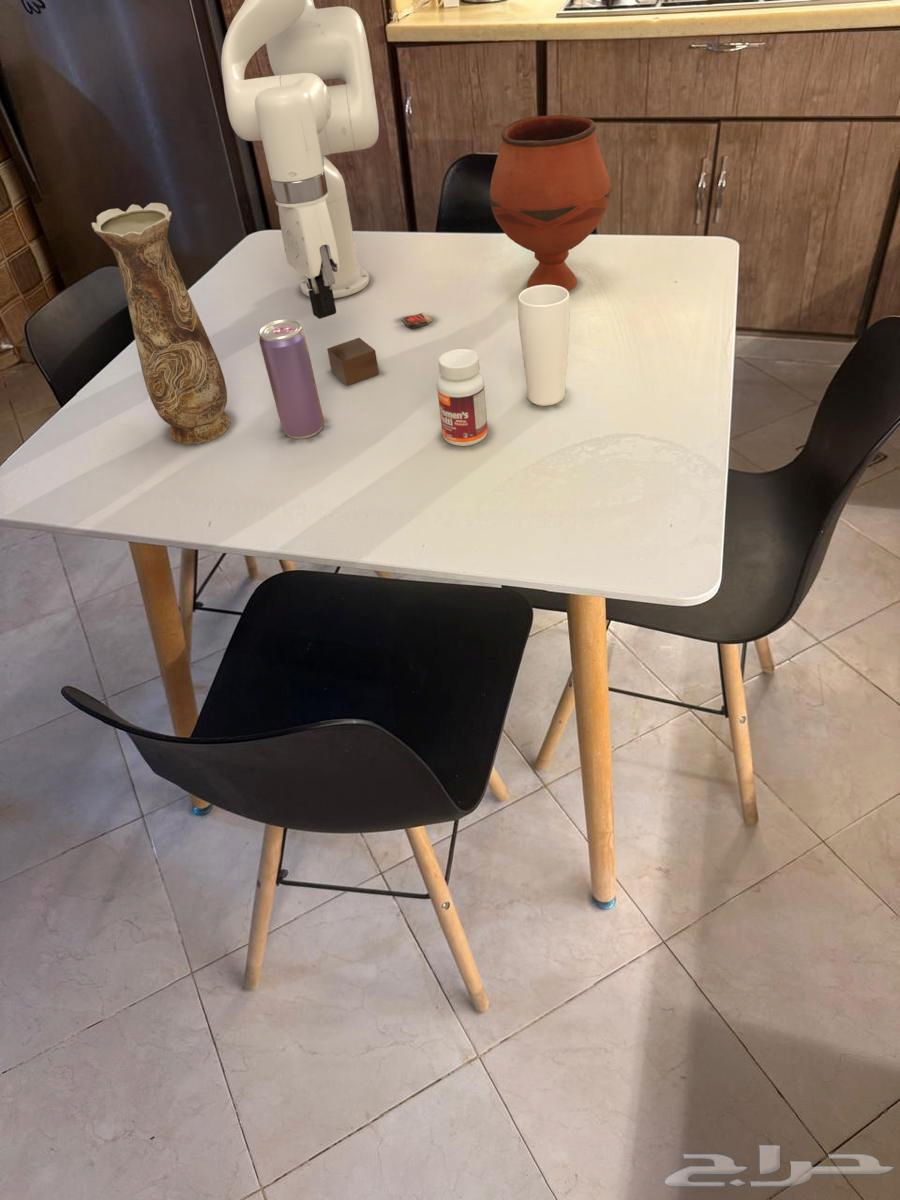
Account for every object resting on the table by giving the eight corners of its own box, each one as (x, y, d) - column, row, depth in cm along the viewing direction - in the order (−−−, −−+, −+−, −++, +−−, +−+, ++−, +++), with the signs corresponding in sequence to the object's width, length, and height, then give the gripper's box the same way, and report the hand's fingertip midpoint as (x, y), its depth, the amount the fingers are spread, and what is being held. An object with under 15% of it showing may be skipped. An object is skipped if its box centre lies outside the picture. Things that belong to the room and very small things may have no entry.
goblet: (495, 267, 158) (486, 115, 142) (602, 258, 157) (605, 103, 140) (495, 312, 144) (485, 150, 128) (612, 303, 143) (617, 137, 126)
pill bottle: (435, 443, 116) (425, 366, 109) (454, 420, 120) (446, 344, 113) (477, 450, 114) (470, 372, 107) (495, 426, 118) (489, 349, 111)
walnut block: (331, 372, 134) (326, 348, 132) (363, 361, 136) (359, 337, 133) (347, 386, 131) (342, 361, 128) (379, 374, 132) (375, 349, 130)
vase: (229, 403, 130) (166, 193, 110) (243, 436, 123) (178, 218, 103) (160, 421, 128) (83, 211, 108) (170, 456, 121) (89, 237, 100)
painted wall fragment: (412, 330, 142) (412, 327, 142) (396, 320, 145) (396, 318, 145) (436, 321, 144) (436, 318, 143) (420, 312, 147) (420, 309, 147)
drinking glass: (574, 387, 124) (574, 284, 114) (565, 411, 119) (565, 306, 109) (527, 384, 126) (523, 283, 116) (517, 409, 121) (512, 305, 111)
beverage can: (317, 441, 120) (294, 339, 110) (277, 440, 121) (250, 339, 111) (330, 418, 124) (308, 318, 114) (291, 417, 125) (266, 318, 115)
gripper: (256, 184, 125) (284, 307, 137) (296, 206, 115) (322, 337, 127) (303, 171, 128) (327, 294, 140) (346, 193, 118) (368, 322, 130)
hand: (325, 314), depth 134 cm, fingers closed
